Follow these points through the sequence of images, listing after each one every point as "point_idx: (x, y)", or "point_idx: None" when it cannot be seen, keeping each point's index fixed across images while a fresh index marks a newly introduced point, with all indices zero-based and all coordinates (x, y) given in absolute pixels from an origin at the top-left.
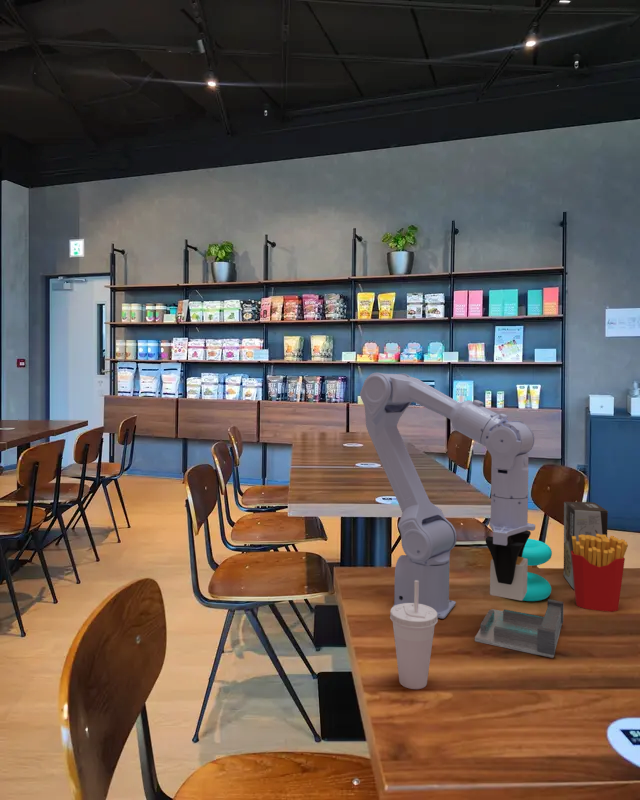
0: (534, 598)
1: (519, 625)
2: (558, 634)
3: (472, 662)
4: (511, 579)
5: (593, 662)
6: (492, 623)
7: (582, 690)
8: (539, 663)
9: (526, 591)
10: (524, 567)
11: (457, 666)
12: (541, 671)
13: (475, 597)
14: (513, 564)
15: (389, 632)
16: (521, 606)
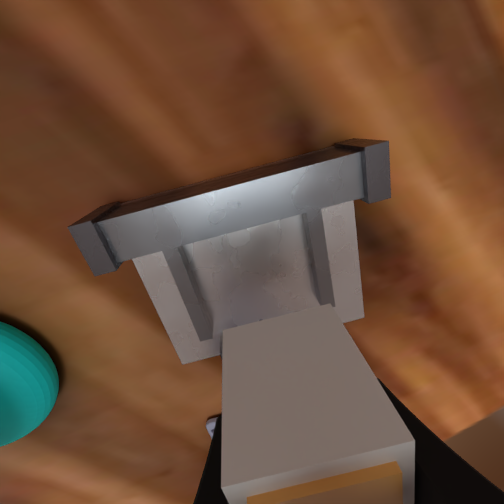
0: (14, 330)
1: (228, 281)
2: (206, 182)
3: (458, 271)
4: (393, 396)
5: (297, 32)
6: None
7: (490, 3)
8: (390, 160)
9: (233, 330)
10: (341, 430)
11: (487, 282)
12: (431, 139)
13: (129, 415)
14: (484, 479)
15: None
16: (80, 332)
